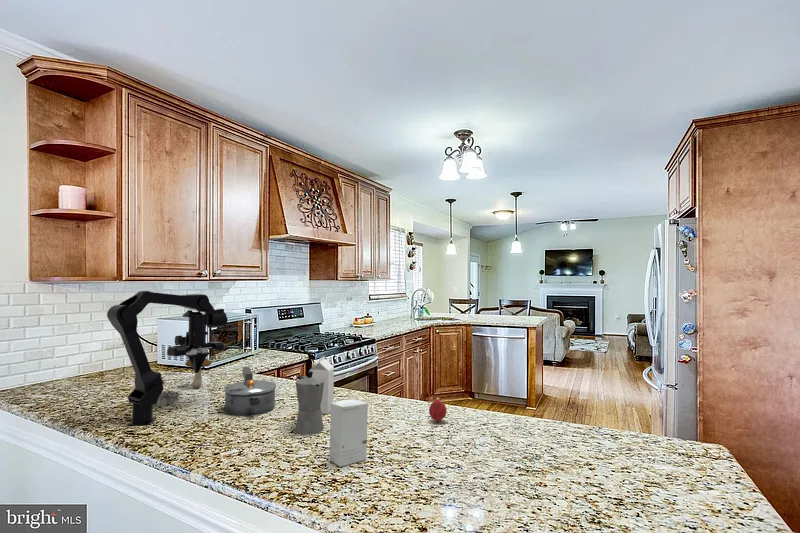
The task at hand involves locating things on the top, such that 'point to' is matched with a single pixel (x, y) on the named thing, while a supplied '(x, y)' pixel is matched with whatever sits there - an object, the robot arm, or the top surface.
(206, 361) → the mushroom
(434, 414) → the onion
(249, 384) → the pot lid
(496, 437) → the top surface
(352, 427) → the skincare box
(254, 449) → the top surface
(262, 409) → the cooking pot
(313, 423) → the coffeepot
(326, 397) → the milk carton
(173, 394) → the egg carton
